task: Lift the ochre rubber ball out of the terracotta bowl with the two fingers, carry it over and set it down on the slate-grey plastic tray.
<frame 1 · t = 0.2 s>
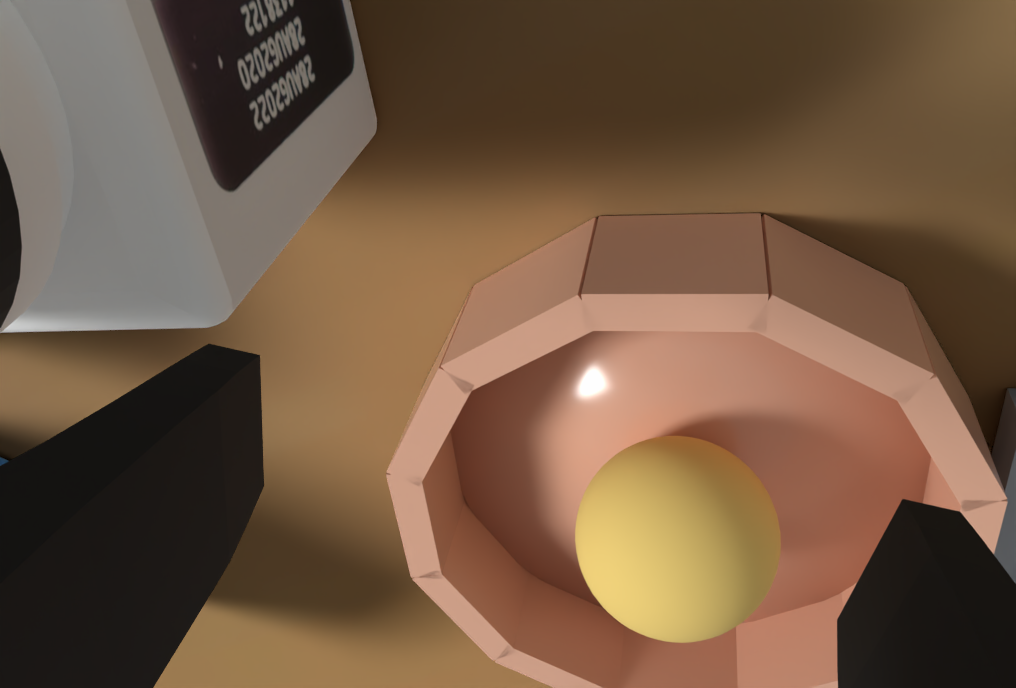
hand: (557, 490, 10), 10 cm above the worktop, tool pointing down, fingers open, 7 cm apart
bowl: (679, 447, 22), on the worktop
ball: (678, 469, 22), point 1 cm above the worktop, touching bowl
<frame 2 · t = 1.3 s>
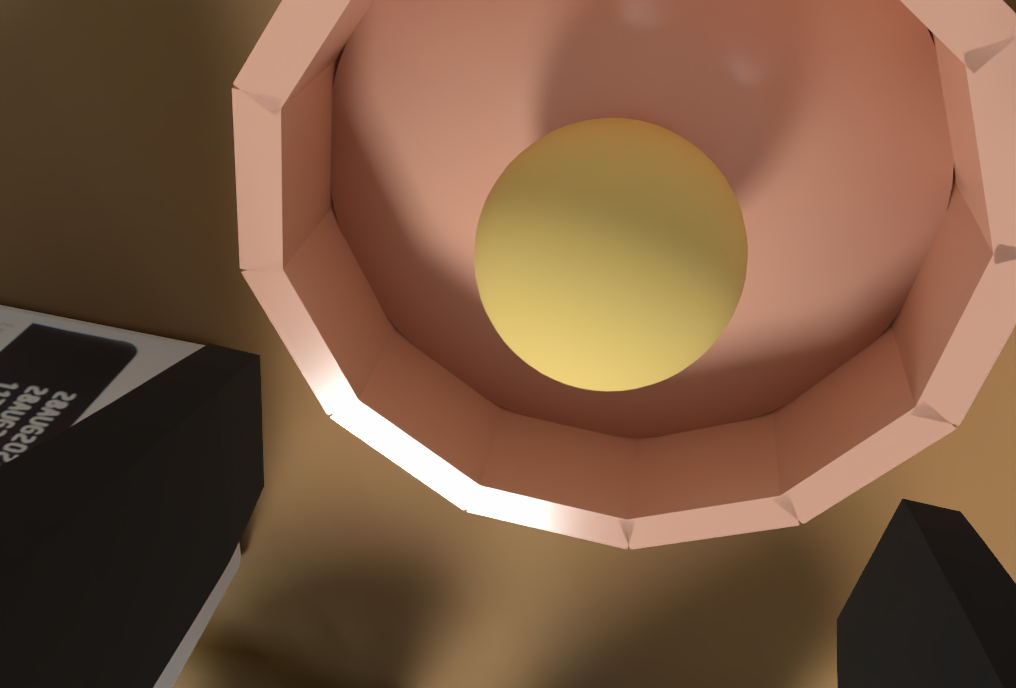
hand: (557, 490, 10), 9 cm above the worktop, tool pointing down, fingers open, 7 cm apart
bowl: (623, 181, 17), on the worktop
ball: (620, 199, 17), point 1 cm above the worktop, touching bowl
container: (102, 429, 24), on the worktop
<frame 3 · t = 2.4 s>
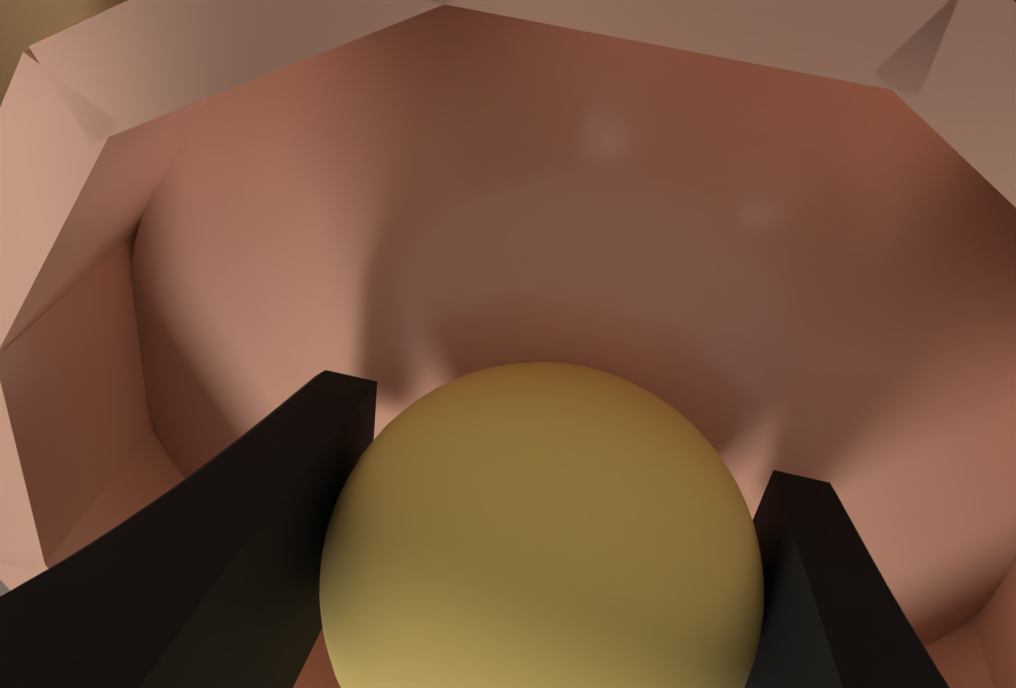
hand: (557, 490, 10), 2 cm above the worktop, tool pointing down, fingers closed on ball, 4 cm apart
bowl: (575, 399, 12), on the worktop
ball: (567, 439, 11), point 1 cm above the worktop, touching bowl, gripper
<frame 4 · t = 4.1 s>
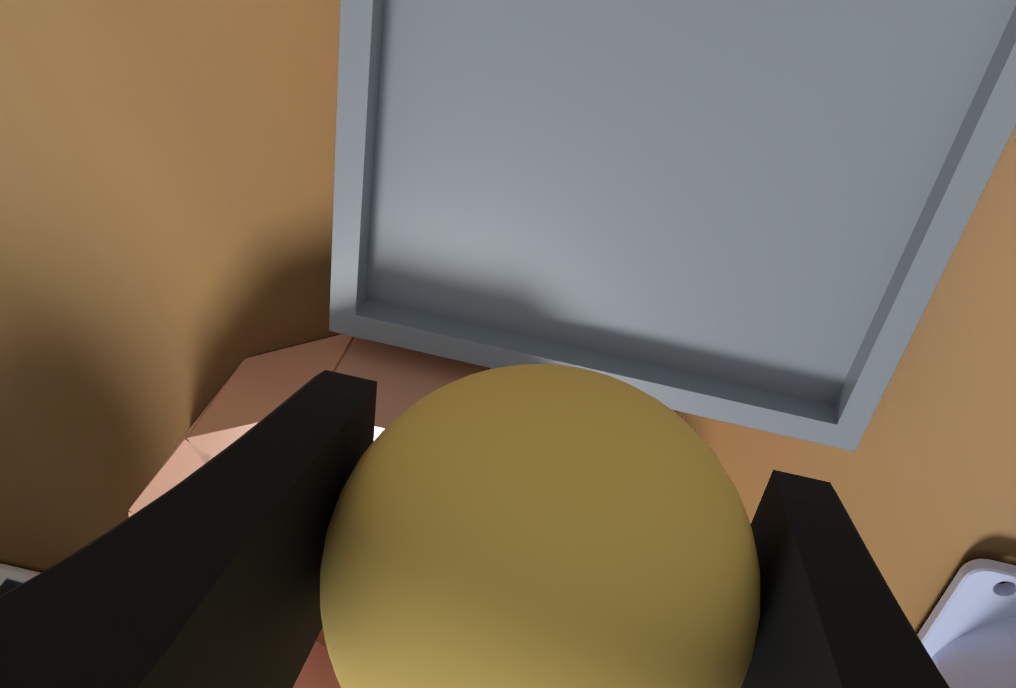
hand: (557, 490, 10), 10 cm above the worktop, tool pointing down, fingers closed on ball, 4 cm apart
bowl: (404, 525, 26), on the worktop
tray: (652, 116, 18), on the worktop
ball: (563, 439, 11), point 9 cm above the worktop, touching gripper
container: (59, 634, 32), on the worktop
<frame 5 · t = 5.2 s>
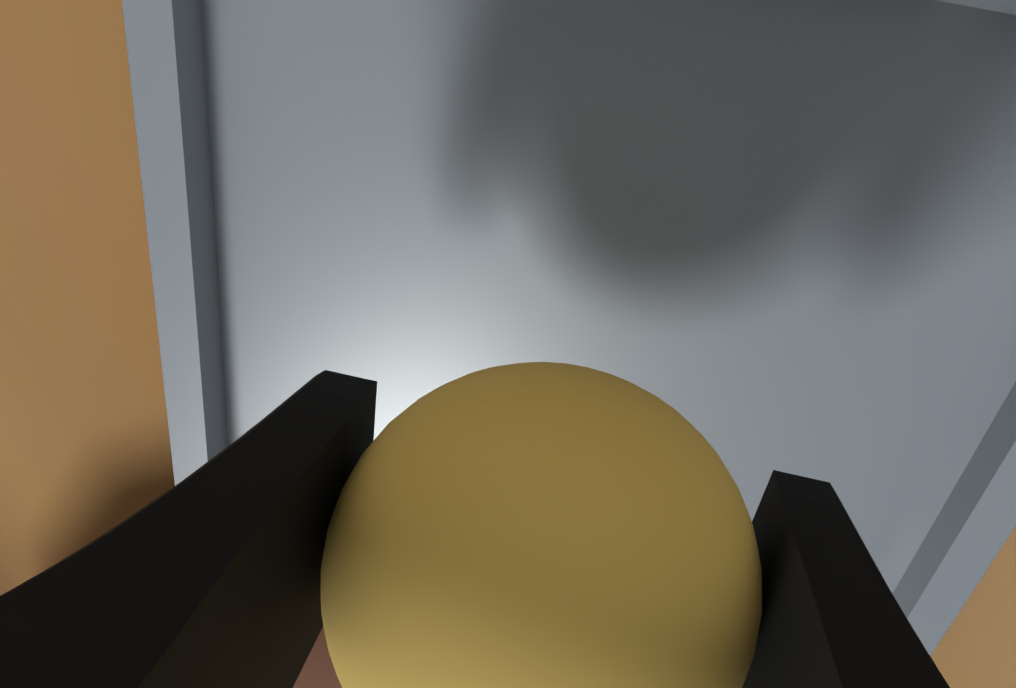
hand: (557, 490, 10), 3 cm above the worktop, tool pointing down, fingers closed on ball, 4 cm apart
tray: (591, 333, 13), on the worktop
ball: (564, 438, 11), point 2 cm above the worktop, touching gripper
when the fingers open (2 cm above the worktop, at t = 5.8 s): ball stays where it is, resting on tray.
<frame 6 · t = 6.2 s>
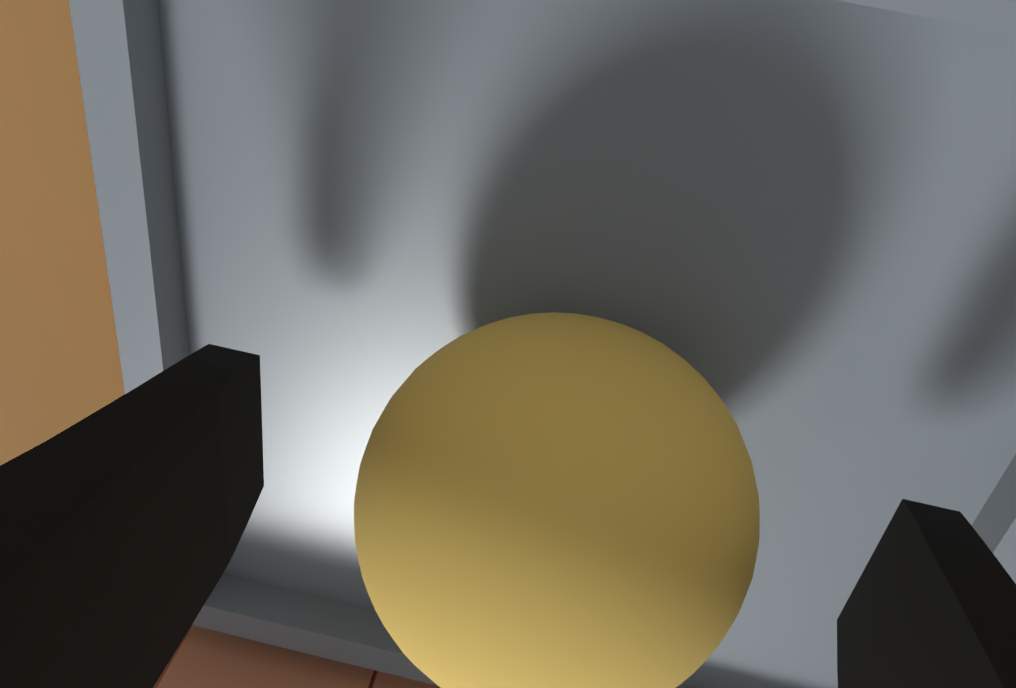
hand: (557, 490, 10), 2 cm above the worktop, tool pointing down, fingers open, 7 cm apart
tray: (582, 368, 12), on the worktop
ball: (574, 391, 12), resting on tray
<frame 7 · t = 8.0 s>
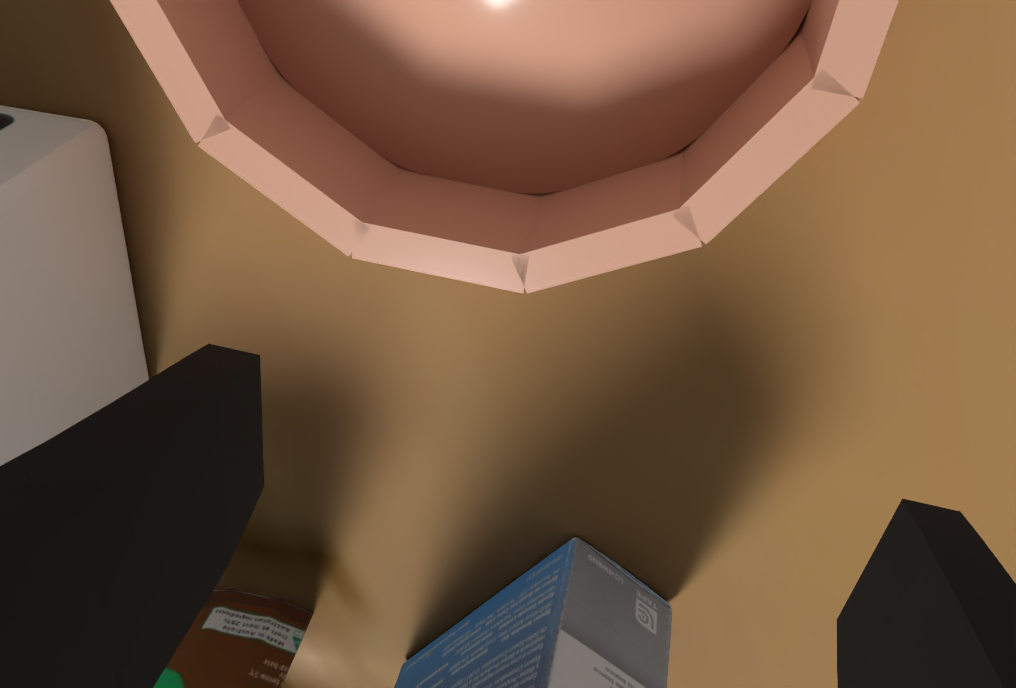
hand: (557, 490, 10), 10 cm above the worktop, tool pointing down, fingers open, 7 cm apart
label tape box: (526, 624, 28), on the worktop
food container: (192, 643, 31), on the worktop
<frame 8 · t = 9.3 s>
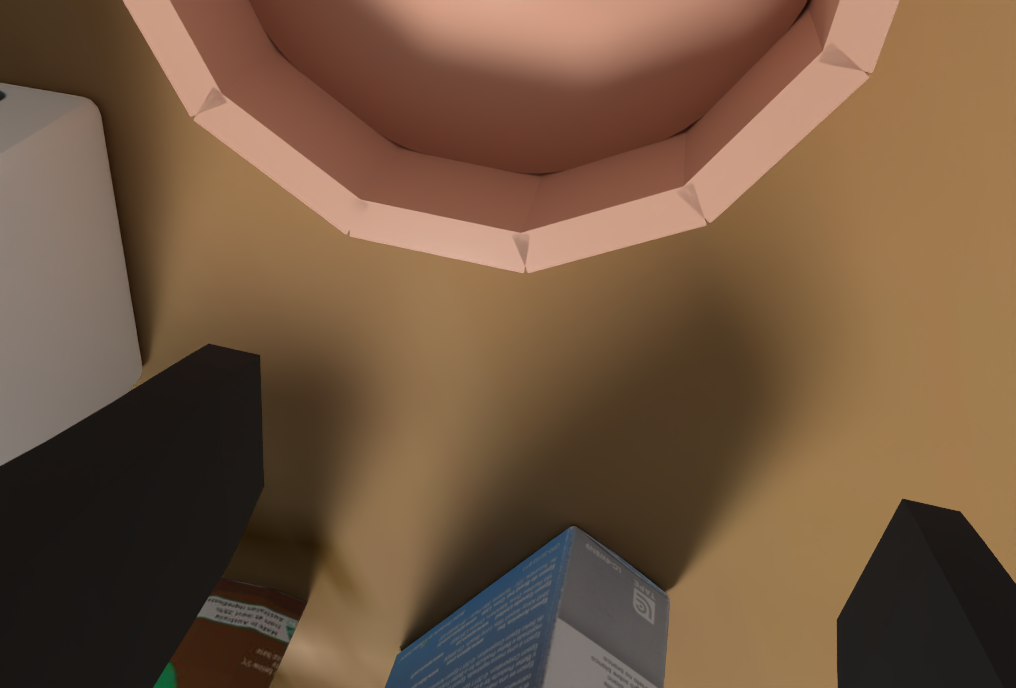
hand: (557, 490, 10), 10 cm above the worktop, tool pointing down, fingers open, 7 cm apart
label tape box: (522, 615, 27), on the worktop
food container: (184, 633, 31), on the worktop
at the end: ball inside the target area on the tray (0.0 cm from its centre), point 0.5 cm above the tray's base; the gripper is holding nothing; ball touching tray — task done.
